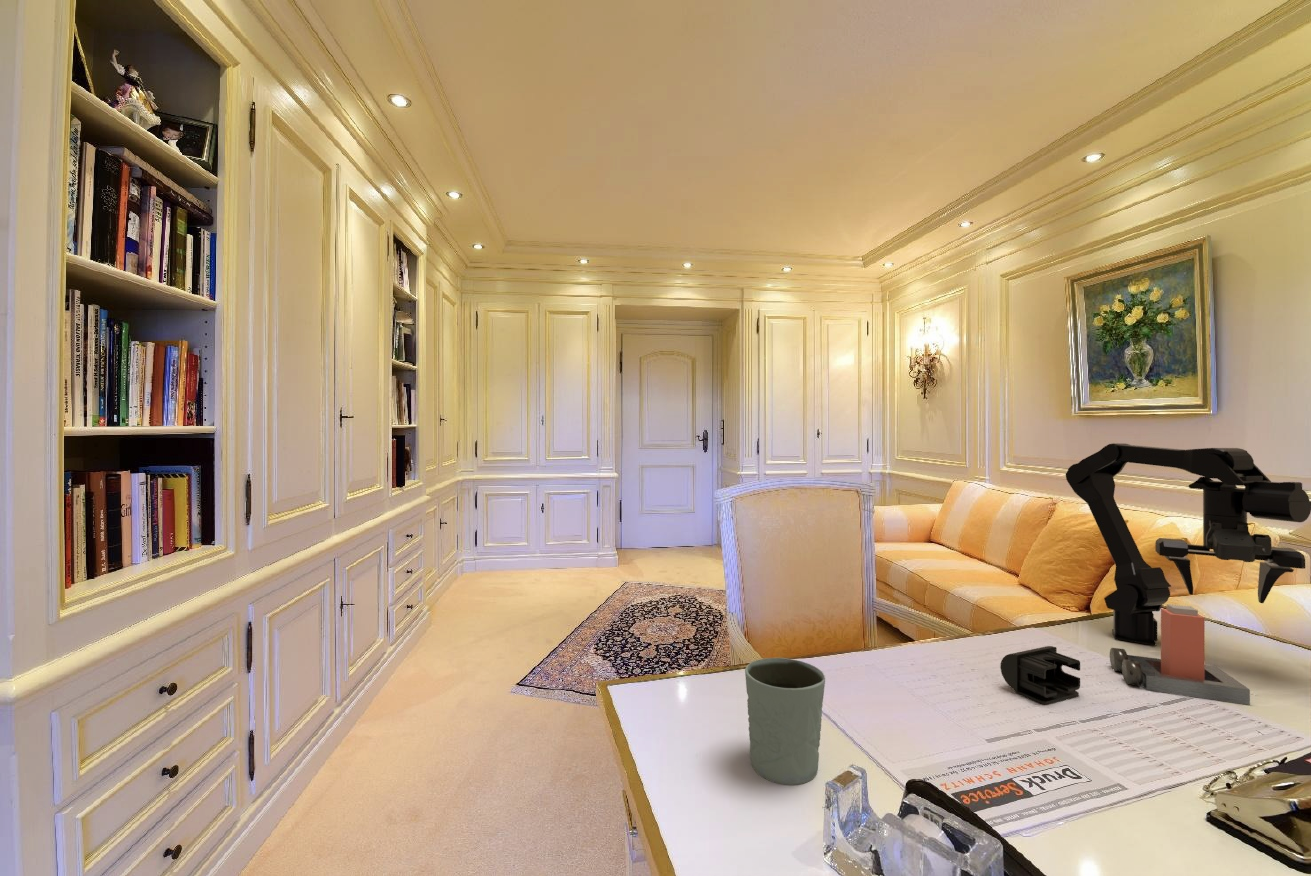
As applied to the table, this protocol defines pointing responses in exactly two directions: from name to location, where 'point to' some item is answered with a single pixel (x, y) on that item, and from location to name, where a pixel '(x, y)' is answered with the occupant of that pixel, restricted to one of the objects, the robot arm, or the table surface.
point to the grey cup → (784, 718)
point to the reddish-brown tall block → (1182, 642)
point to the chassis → (1178, 679)
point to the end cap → (1041, 675)
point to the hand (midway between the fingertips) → (1225, 598)
